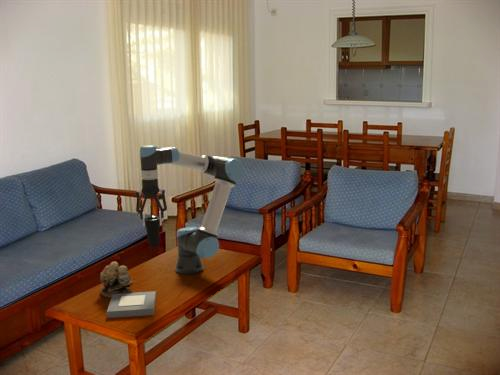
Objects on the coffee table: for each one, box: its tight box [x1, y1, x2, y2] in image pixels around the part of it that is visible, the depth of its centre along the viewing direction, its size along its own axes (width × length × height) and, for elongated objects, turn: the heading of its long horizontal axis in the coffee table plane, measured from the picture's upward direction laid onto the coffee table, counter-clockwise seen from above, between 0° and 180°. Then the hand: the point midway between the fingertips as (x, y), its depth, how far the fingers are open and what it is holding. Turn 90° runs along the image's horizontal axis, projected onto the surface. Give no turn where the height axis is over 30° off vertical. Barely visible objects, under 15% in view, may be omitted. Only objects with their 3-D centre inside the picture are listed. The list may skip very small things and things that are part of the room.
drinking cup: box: [144, 204, 160, 248], centre depth 264 cm, size 8×8×20 cm
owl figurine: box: [99, 261, 134, 300], centre depth 266 cm, size 18×12×17 cm, turn 71°
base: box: [106, 290, 157, 319], centre depth 251 cm, size 20×20×3 cm
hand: (152, 225), depth 265 cm, fingers closed on drinking cup, 7 cm apart
